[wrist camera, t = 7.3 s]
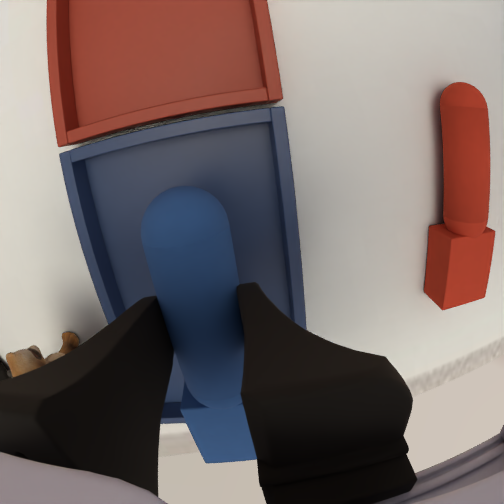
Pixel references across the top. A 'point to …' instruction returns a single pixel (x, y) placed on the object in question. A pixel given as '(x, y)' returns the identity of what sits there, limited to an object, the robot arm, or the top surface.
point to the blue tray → (201, 176)
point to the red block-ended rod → (462, 202)
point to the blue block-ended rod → (201, 315)
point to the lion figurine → (38, 356)
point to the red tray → (155, 62)
